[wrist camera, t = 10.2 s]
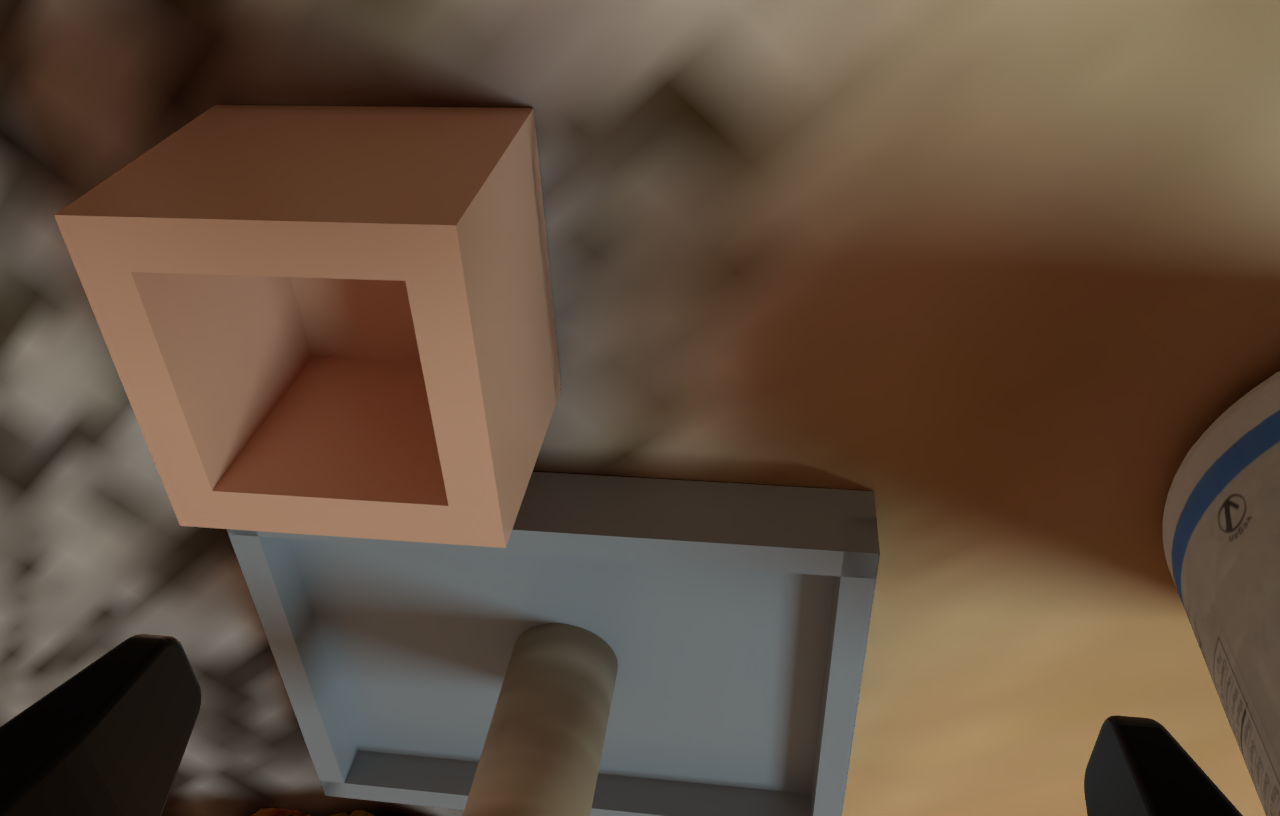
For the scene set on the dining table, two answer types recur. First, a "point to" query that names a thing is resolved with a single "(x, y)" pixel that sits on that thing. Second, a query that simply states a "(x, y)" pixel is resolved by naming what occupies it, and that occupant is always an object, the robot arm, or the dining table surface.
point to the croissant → (286, 815)
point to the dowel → (547, 726)
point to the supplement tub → (1235, 570)
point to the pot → (332, 316)
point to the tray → (610, 608)
